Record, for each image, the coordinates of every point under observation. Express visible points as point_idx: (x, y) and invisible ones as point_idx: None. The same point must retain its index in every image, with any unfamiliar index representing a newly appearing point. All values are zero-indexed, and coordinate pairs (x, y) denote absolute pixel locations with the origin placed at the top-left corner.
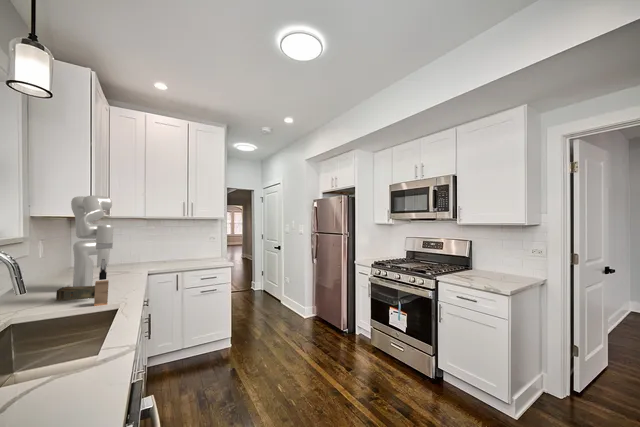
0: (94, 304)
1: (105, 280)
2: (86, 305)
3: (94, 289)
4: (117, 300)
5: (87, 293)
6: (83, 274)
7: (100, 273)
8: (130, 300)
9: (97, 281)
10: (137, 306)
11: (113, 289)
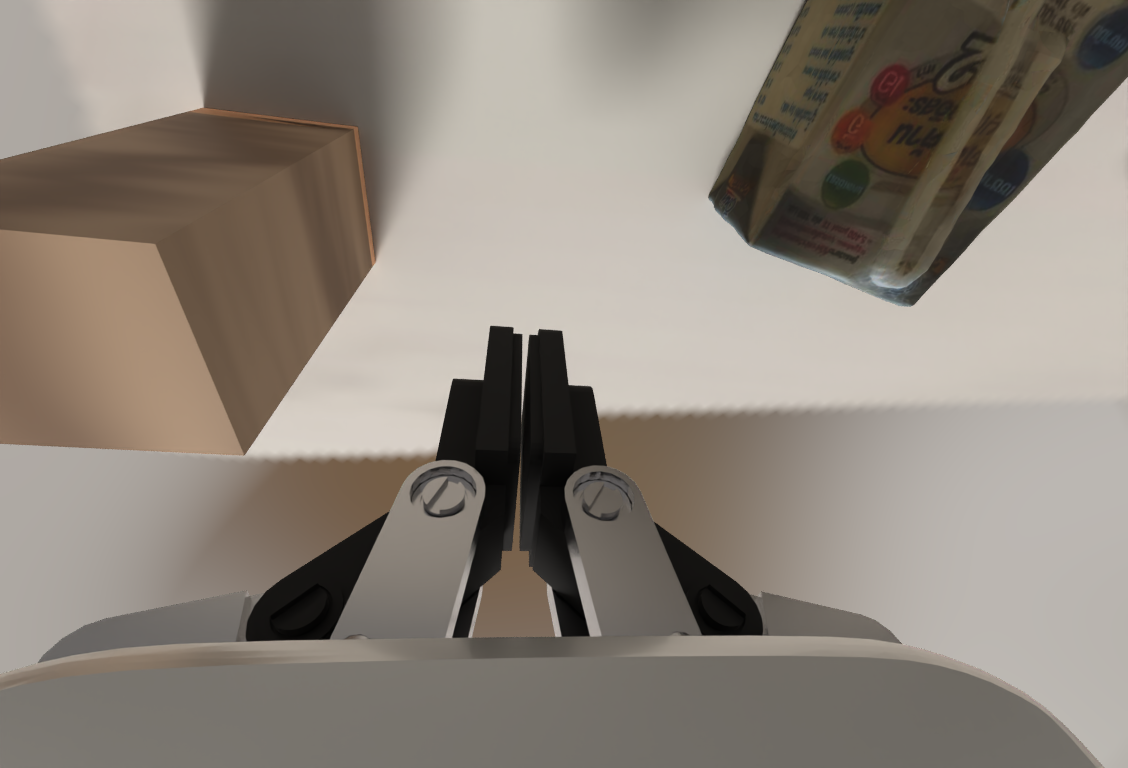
0: (189, 115)
1: (195, 414)
2: (293, 15)
3: (771, 187)
4: (416, 346)
5: (806, 74)
6: None
7: (476, 451)
8: (356, 425)
9: (59, 275)
10: None
11: (1010, 370)
